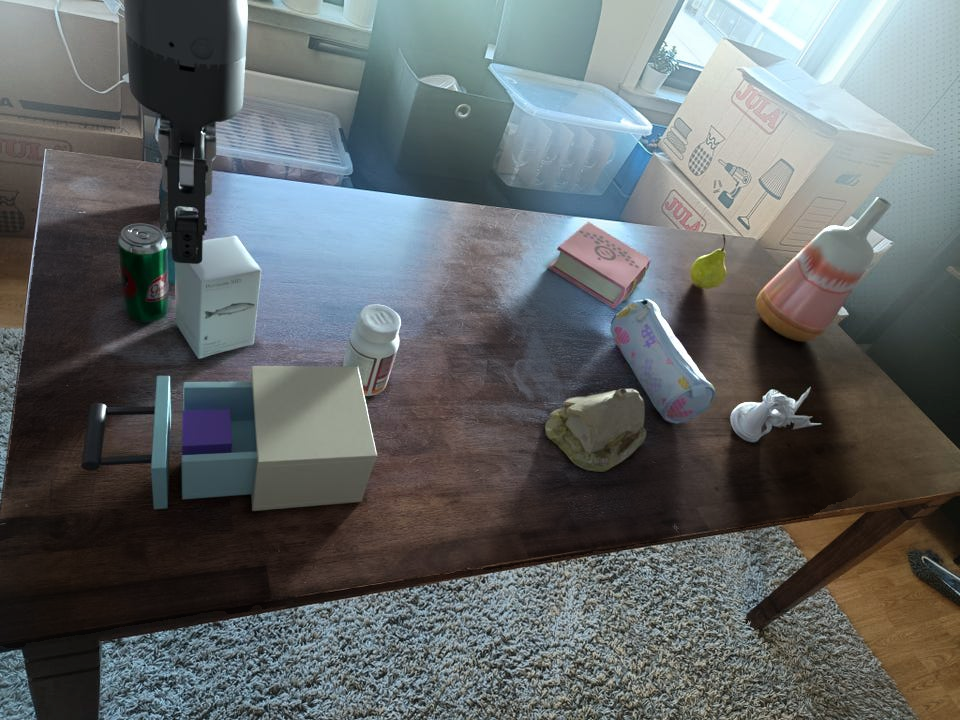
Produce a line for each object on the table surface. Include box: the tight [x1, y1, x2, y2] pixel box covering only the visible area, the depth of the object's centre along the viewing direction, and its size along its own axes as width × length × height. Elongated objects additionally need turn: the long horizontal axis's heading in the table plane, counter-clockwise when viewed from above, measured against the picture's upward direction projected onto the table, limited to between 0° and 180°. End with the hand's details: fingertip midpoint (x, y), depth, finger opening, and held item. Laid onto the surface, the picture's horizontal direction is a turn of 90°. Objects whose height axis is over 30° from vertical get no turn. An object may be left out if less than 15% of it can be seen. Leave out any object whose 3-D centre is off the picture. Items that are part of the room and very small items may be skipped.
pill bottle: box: [342, 303, 402, 397], centre depth 80 cm, size 6×6×11 cm
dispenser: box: [249, 365, 378, 512], centre depth 69 cm, size 12×13×9 cm
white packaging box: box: [174, 235, 262, 360], centre depth 77 cm, size 7×7×13 cm
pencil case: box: [609, 298, 717, 425], centre depth 100 cm, size 21×9×10 cm, turn 16°
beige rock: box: [544, 387, 647, 473], centre depth 86 cm, size 14×11×10 cm
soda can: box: [117, 222, 170, 323], centre depth 76 cm, size 5×5×12 cm
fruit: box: [689, 233, 727, 290], centre depth 127 cm, size 7×7×12 cm
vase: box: [755, 196, 892, 343], centre depth 120 cm, size 14×14×30 cm
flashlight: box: [158, 178, 194, 286], centre depth 89 cm, size 5×22×5 cm, turn 17°
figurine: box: [729, 386, 821, 443], centre depth 96 cm, size 11×8×12 cm
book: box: [547, 221, 652, 310], centre depth 119 cm, size 14×15×5 cm
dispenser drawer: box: [80, 375, 257, 510], centre depth 64 cm, size 16×11×7 cm
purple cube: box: [181, 409, 232, 456], centre depth 65 cm, size 4×4×4 cm
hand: (188, 229), depth 54 cm, fingers open, 8 cm apart
